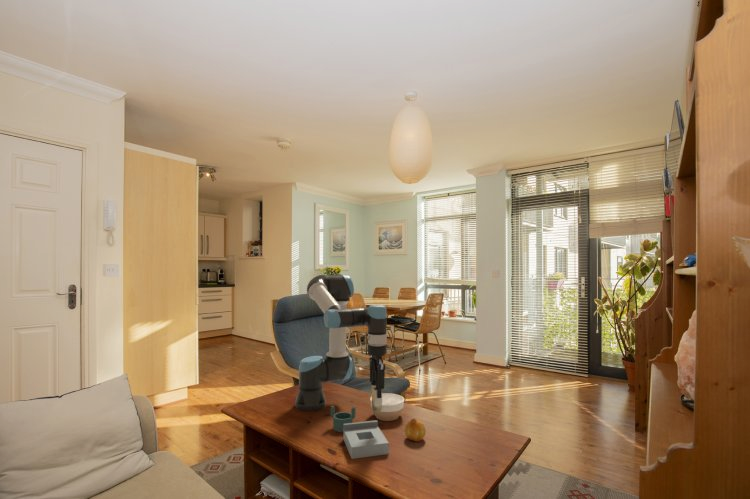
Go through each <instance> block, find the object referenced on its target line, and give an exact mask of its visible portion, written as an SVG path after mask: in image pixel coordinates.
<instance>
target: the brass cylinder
mask: <svg viewBox="0 0 750 499" xmlns="http://www.w3.org/2000/svg"><path fill="white" fill-rule="evenodd" d="M371 397H372V409H371V411H372V410H373V411H381V410H382V406H376V407H375V390H374V388H372V387H371Z"/></svg>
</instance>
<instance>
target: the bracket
mask: <svg viewBox="0 0 750 499" xmlns="http://www.w3.org/2000/svg"><path fill="white" fill-rule="evenodd" d="M335 409H336V408H335V405H330V418H333V419H332V420H333V421H332V422H333V423H332V425H333V426H332V429H333V430H334V431H335V432H338V433H343V425H344V424H346V423H354V422H353V420H354V419H355V418H356V406H351V410H350V411H351V412H347V411H341V412H340V411H339V412H336V413H335Z"/></svg>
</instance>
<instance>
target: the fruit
mask: <svg viewBox="0 0 750 499" xmlns="http://www.w3.org/2000/svg"><path fill="white" fill-rule="evenodd" d="M426 432H427V431H426V427H425V424H423V422H421V420H419V419H416V418H412V419H410V420H409V421H408V422H407V423H406V424H405V427H404V434H405V437H407V439H409V440H410V441H413V442H421V441H422V440H423V439H424V438H425V436H426Z"/></svg>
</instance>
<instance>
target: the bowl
mask: <svg viewBox="0 0 750 499" xmlns="http://www.w3.org/2000/svg"><path fill="white" fill-rule="evenodd" d="M369 400H370V409H371V411H372V414H374V416H375V418H376V419H378V420H380V421H386V422H390V421H395V420H397V419H398V418H399V417H400V415H401V414H402V412H403V411H404V407H405V406H404V404H405V403H404V402H405V398H404V397H403V396H402V395H399V394H397V393H390V392H389V393H388V392H386V393H385V392H384V393H383V392H382V410H381V411H373V410H372V396H370V398H369Z"/></svg>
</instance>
